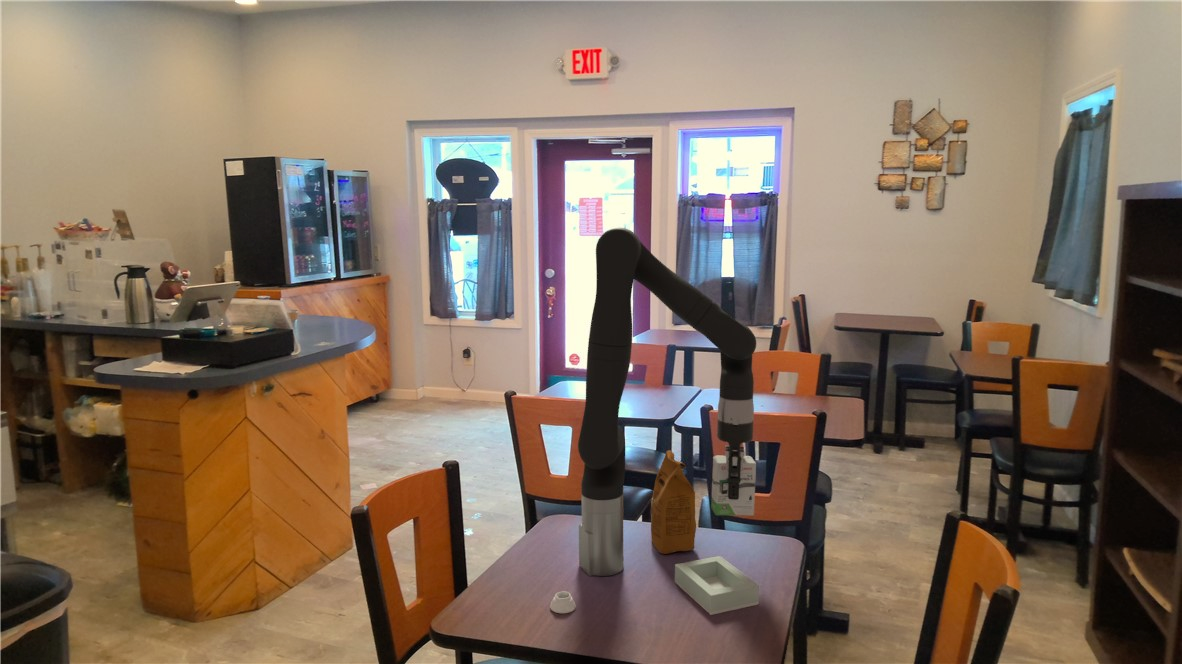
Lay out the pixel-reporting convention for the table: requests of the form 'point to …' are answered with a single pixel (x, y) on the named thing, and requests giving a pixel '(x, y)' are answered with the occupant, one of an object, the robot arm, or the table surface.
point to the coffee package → (672, 508)
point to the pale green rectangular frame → (716, 585)
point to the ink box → (720, 488)
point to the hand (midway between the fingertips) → (733, 493)
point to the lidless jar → (562, 603)
